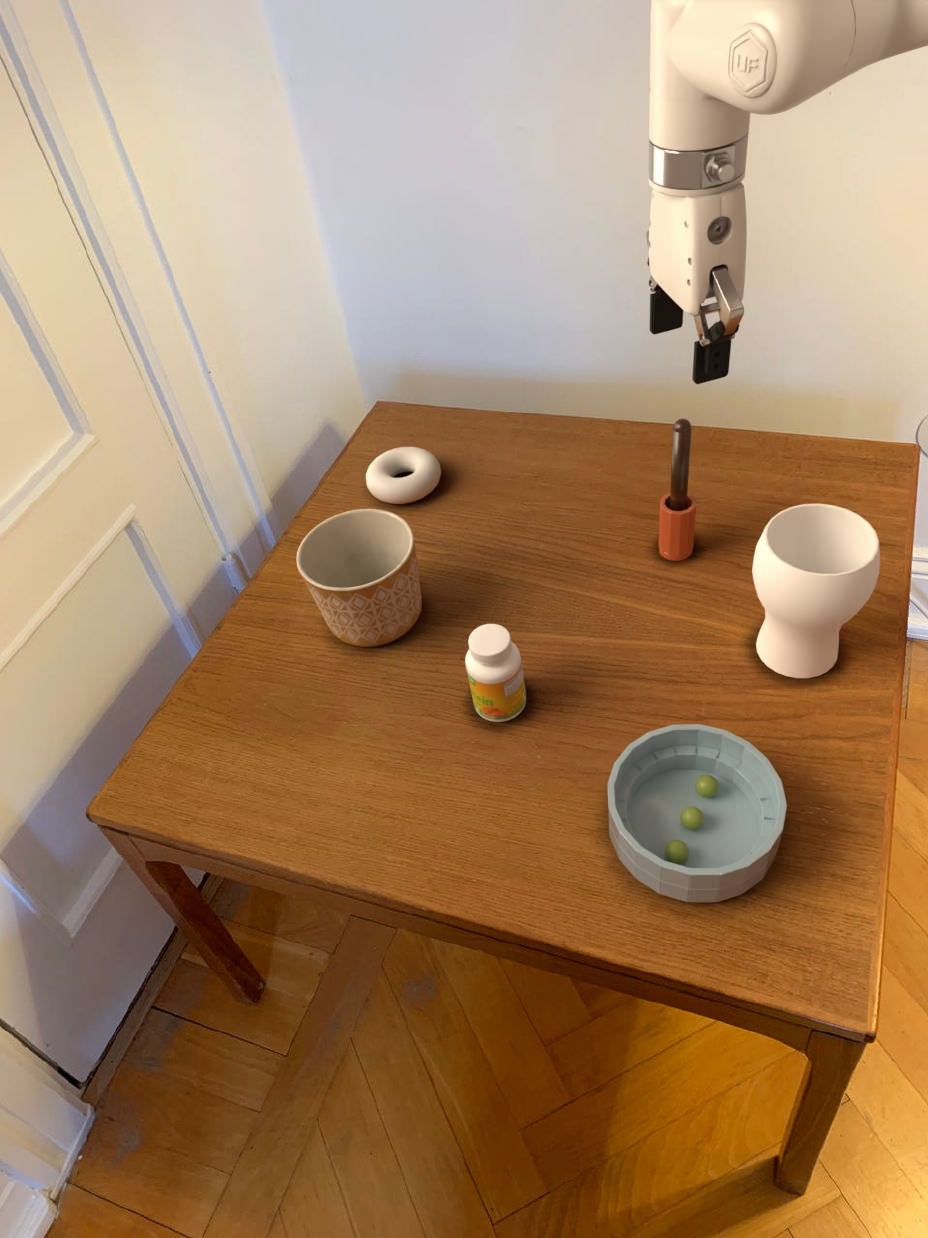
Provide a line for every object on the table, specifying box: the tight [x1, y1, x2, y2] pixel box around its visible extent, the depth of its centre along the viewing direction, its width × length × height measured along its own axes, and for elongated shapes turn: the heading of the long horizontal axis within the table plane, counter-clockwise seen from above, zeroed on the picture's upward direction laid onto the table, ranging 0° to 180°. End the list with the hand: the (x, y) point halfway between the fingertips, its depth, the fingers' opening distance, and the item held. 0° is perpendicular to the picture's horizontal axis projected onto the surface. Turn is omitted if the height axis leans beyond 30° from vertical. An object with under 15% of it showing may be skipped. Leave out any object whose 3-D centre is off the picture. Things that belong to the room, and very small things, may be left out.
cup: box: [751, 503, 881, 679], centre depth 81 cm, size 11×11×15 cm
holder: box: [658, 492, 698, 562], centre depth 96 cm, size 4×4×7 cm
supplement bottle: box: [464, 623, 527, 723], centre depth 83 cm, size 5×5×10 cm
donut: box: [365, 446, 442, 505], centre depth 112 cm, size 10×4×10 cm
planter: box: [295, 508, 423, 648], centre depth 94 cm, size 13×13×10 cm
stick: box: [669, 418, 693, 511], centre depth 92 cm, size 2×2×17 cm
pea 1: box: [665, 840, 689, 865], centre depth 72 cm, size 2×2×2 cm
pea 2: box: [680, 806, 704, 830], centre depth 74 cm, size 2×2×2 cm
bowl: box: [606, 723, 788, 903], centre depth 73 cm, size 14×14×6 cm
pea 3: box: [695, 775, 719, 798], centre depth 75 cm, size 2×2×2 cm
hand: (687, 353), depth 80 cm, fingers open, 9 cm apart
